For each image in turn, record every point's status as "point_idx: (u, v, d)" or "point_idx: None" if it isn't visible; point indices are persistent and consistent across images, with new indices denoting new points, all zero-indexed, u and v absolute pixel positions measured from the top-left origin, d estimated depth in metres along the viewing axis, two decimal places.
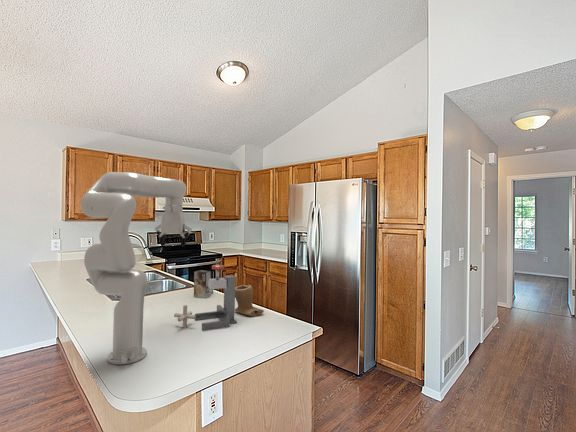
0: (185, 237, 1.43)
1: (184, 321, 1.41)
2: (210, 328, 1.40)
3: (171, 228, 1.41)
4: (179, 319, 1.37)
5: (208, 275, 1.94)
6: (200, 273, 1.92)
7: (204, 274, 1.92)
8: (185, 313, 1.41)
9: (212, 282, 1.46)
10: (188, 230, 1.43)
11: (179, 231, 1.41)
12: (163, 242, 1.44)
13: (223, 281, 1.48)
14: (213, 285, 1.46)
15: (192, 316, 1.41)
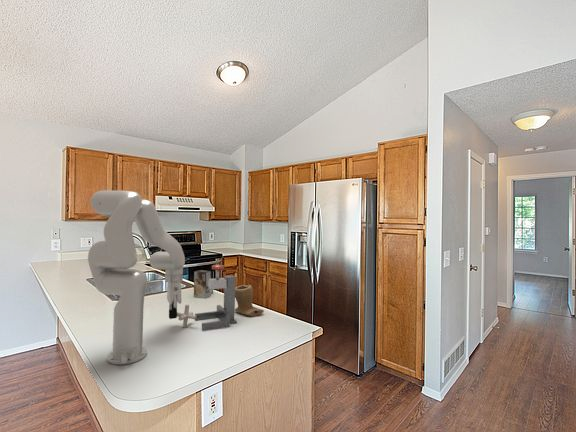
0: None
1: (185, 321, 1.42)
2: (210, 328, 1.40)
3: None
4: (180, 318, 1.38)
5: (208, 275, 1.94)
6: (200, 273, 1.92)
7: (204, 274, 1.92)
8: (186, 313, 1.42)
9: (212, 282, 1.46)
10: None
11: None
12: None
13: (223, 281, 1.48)
14: (213, 285, 1.46)
15: (193, 316, 1.41)
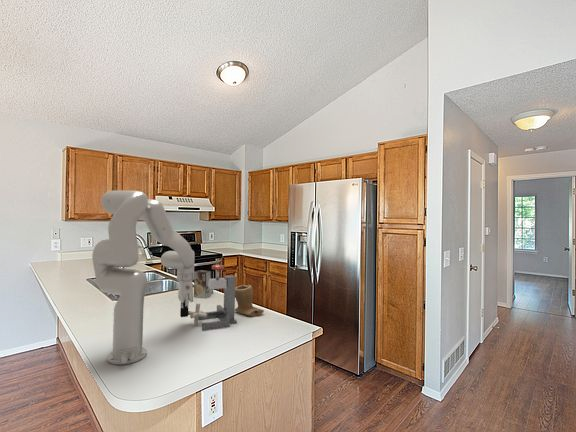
0: None
1: (196, 319, 1.44)
2: (210, 328, 1.40)
3: None
4: (192, 316, 1.40)
5: (208, 275, 1.94)
6: (200, 273, 1.92)
7: (204, 274, 1.92)
8: (197, 311, 1.45)
9: (212, 282, 1.46)
10: None
11: None
12: None
13: (223, 281, 1.48)
14: (213, 285, 1.46)
15: (204, 314, 1.44)
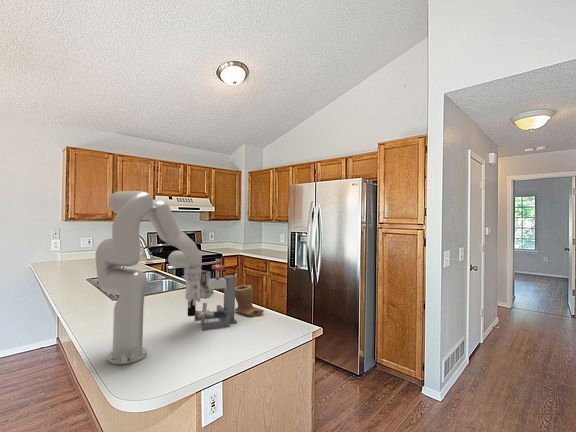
0: None
1: (203, 318, 1.46)
2: (210, 328, 1.40)
3: None
4: (199, 315, 1.42)
5: (208, 275, 1.94)
6: None
7: (204, 274, 1.92)
8: (204, 310, 1.46)
9: (212, 282, 1.46)
10: None
11: None
12: None
13: (223, 281, 1.48)
14: (213, 285, 1.46)
15: (211, 313, 1.45)
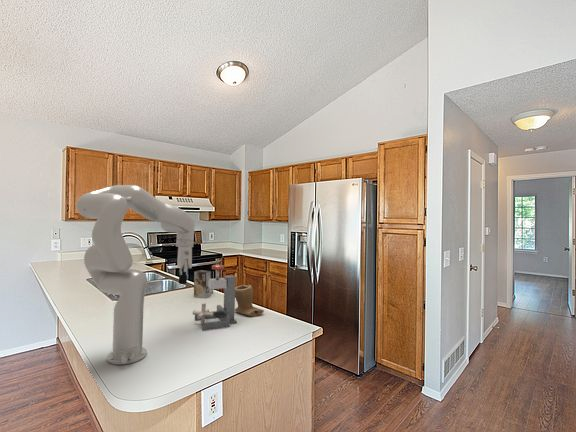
0: None
1: (202, 318, 1.45)
2: (210, 328, 1.40)
3: None
4: (198, 316, 1.41)
5: (208, 275, 1.94)
6: (200, 273, 1.92)
7: (204, 274, 1.92)
8: (203, 311, 1.46)
9: (212, 282, 1.46)
10: None
11: None
12: None
13: (223, 281, 1.48)
14: (213, 285, 1.46)
15: (210, 314, 1.45)
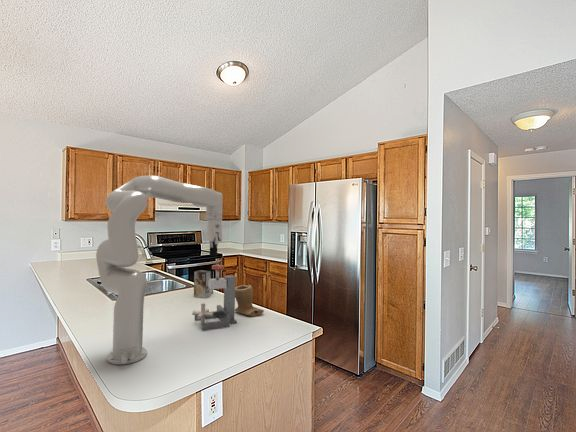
0: None
1: (202, 319, 1.45)
2: (210, 328, 1.40)
3: None
4: (198, 317, 1.41)
5: (208, 275, 1.94)
6: (200, 273, 1.92)
7: (204, 274, 1.92)
8: (203, 311, 1.45)
9: (212, 282, 1.46)
10: None
11: None
12: None
13: (223, 281, 1.48)
14: (213, 285, 1.46)
15: (210, 314, 1.45)
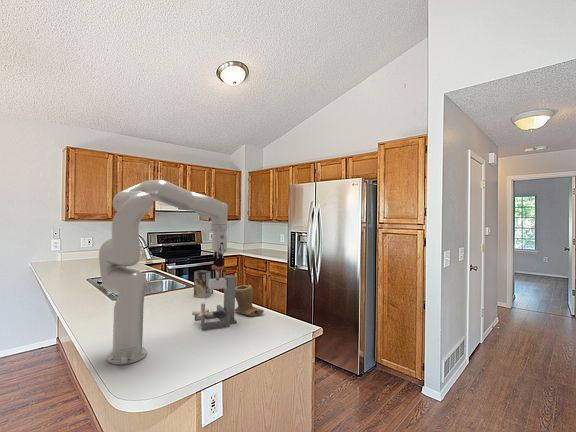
0: None
1: (202, 319, 1.45)
2: (210, 328, 1.40)
3: None
4: (198, 317, 1.41)
5: (208, 275, 1.94)
6: (200, 273, 1.92)
7: (204, 274, 1.92)
8: (203, 311, 1.45)
9: (212, 282, 1.46)
10: None
11: None
12: None
13: (223, 281, 1.48)
14: (213, 285, 1.46)
15: (210, 314, 1.45)
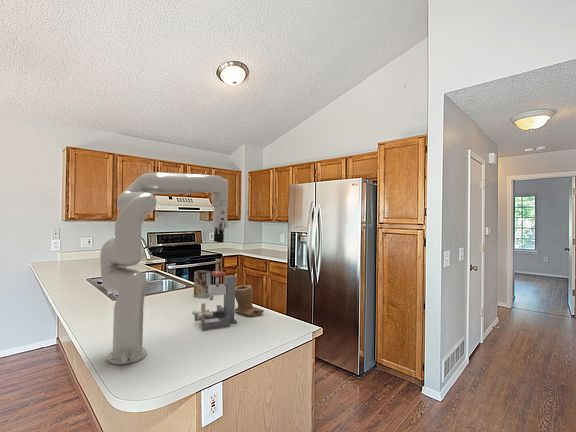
0: None
1: (202, 318, 1.45)
2: (210, 328, 1.40)
3: None
4: (198, 316, 1.41)
5: (208, 275, 1.94)
6: (200, 273, 1.92)
7: (204, 274, 1.92)
8: (203, 311, 1.46)
9: (212, 288, 1.46)
10: None
11: None
12: None
13: (223, 287, 1.48)
14: (213, 291, 1.46)
15: (210, 313, 1.45)
